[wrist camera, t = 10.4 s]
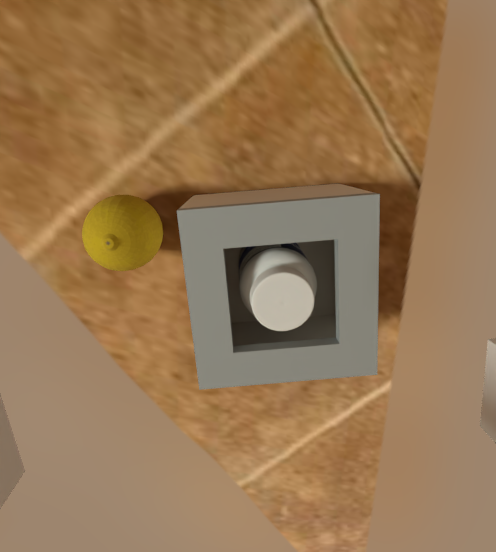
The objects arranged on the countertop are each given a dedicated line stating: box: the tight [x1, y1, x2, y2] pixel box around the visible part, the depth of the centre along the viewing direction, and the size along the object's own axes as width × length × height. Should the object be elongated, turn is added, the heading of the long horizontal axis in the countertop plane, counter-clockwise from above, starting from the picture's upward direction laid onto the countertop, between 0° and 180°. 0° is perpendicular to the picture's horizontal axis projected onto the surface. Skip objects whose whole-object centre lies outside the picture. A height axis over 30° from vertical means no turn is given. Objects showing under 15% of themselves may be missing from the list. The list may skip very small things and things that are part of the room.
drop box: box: [177, 183, 380, 389], centre depth 30 cm, size 12×12×10 cm
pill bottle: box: [238, 243, 317, 331], centre depth 30 cm, size 5×5×10 cm
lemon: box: [82, 195, 163, 271], centre depth 30 cm, size 6×6×8 cm
